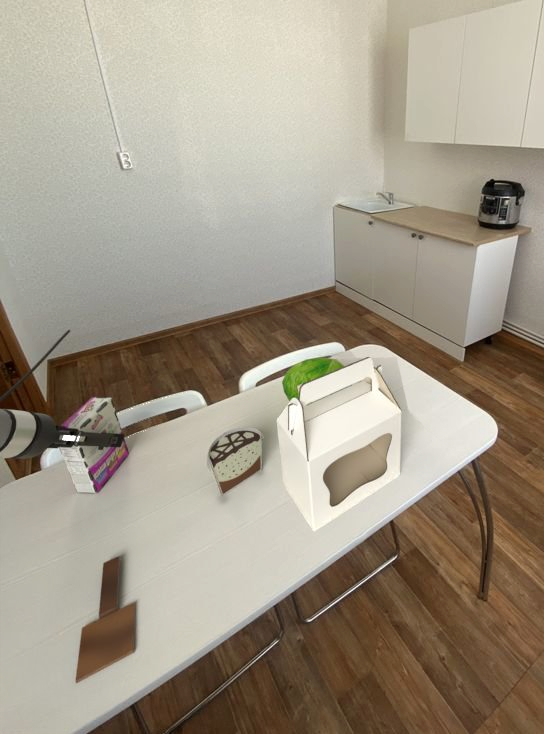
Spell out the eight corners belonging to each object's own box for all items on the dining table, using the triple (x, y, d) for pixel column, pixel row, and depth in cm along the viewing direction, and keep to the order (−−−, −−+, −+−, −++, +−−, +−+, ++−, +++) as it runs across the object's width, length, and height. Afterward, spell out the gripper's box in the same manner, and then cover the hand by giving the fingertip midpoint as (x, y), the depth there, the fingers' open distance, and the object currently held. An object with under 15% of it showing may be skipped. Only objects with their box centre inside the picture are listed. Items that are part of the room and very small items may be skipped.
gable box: (365, 439, 94) (364, 339, 84) (401, 475, 84) (404, 365, 74) (282, 485, 82) (269, 374, 72) (312, 533, 72) (302, 411, 62)
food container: (253, 451, 91) (248, 417, 87) (267, 466, 87) (263, 431, 83) (202, 482, 83) (195, 446, 79) (215, 500, 79) (208, 463, 75)
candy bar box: (109, 453, 91) (91, 396, 85) (130, 453, 91) (113, 396, 85) (74, 494, 81) (51, 432, 75) (97, 495, 80) (75, 432, 75)
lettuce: (362, 386, 113) (330, 340, 115) (364, 398, 93) (325, 341, 95) (314, 421, 112) (283, 373, 113) (306, 440, 92) (268, 382, 94)
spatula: (89, 574, 66) (87, 569, 65) (135, 554, 69) (134, 549, 68) (76, 683, 52) (73, 678, 52) (134, 652, 55) (132, 647, 55)
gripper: (-40, 454, 66) (66, 454, 87) (56, 462, 64) (141, 461, 85) (-19, 408, 69) (79, 419, 90) (73, 415, 67) (151, 424, 88)
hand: (109, 439), depth 87 cm, fingers closed on candy bar box, 5 cm apart
